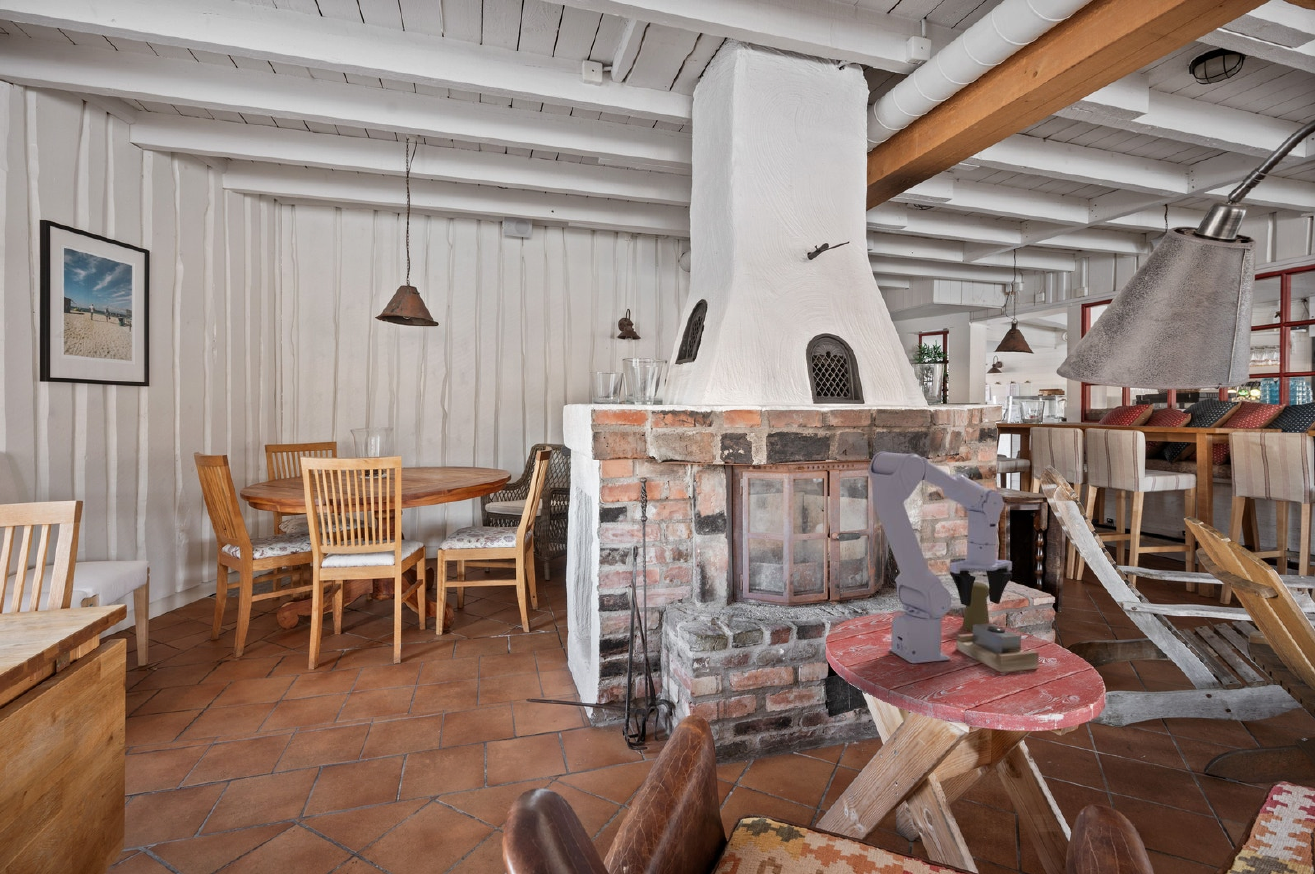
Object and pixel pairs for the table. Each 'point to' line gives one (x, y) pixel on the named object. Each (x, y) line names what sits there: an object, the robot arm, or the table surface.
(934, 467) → the robot arm
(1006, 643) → the housing
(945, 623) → the table surface
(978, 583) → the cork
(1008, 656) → the stand
